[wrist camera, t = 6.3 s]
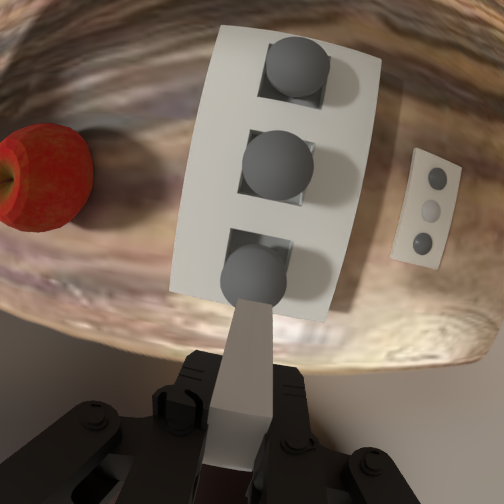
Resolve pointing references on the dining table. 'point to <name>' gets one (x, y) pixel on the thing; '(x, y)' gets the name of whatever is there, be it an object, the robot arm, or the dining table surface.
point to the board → (255, 206)
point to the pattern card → (426, 210)
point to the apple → (43, 177)
